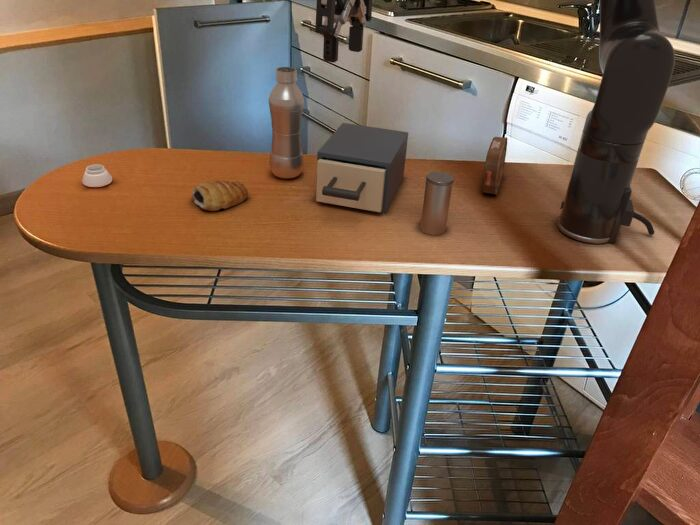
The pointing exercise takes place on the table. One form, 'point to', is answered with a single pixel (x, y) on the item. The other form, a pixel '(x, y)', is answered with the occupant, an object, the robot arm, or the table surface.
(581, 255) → the table surface
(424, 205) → the steel cylinder
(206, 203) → the pastry
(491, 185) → the tin
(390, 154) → the cabinet
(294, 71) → the metallic bottle
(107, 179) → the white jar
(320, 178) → the drawer
